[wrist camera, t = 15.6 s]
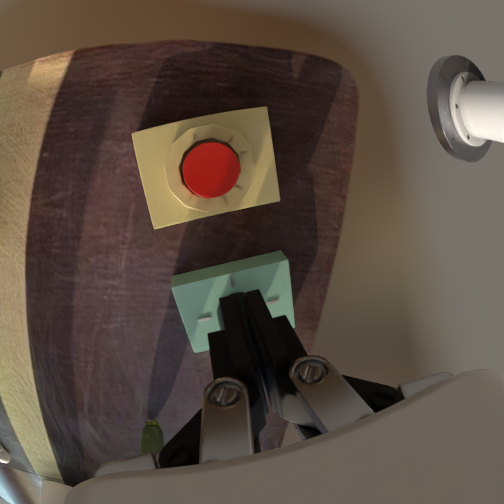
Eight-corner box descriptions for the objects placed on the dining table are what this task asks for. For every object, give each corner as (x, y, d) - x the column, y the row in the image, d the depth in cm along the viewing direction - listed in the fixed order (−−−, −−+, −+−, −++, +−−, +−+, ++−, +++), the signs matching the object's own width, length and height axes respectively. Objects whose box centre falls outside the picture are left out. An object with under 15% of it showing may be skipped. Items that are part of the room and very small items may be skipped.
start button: (231, 137, 23) (234, 137, 21) (240, 187, 24) (244, 191, 23) (178, 148, 22) (177, 148, 20) (188, 198, 24) (189, 203, 22)
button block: (260, 108, 25) (272, 104, 22) (273, 196, 29) (286, 205, 26) (135, 133, 24) (127, 132, 20) (156, 222, 27) (152, 236, 24)
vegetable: (165, 429, 40) (174, 536, 22) (139, 428, 39) (142, 535, 21) (160, 414, 38) (169, 531, 20) (134, 414, 37) (134, 529, 19)
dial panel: (280, 249, 32) (288, 259, 29) (288, 315, 35) (295, 328, 33) (171, 275, 30) (170, 288, 28) (193, 339, 34) (194, 354, 31)
